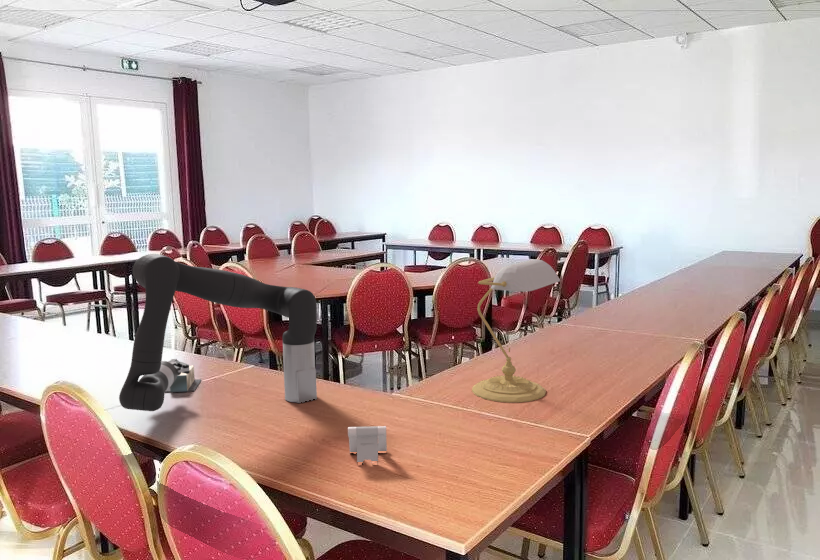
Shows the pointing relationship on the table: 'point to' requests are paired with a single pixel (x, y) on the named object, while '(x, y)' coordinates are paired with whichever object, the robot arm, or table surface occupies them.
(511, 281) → the desk lamp
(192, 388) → the gray rectangular block
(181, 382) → the birch block
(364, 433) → the portable electronic device stand
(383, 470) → the table surface
